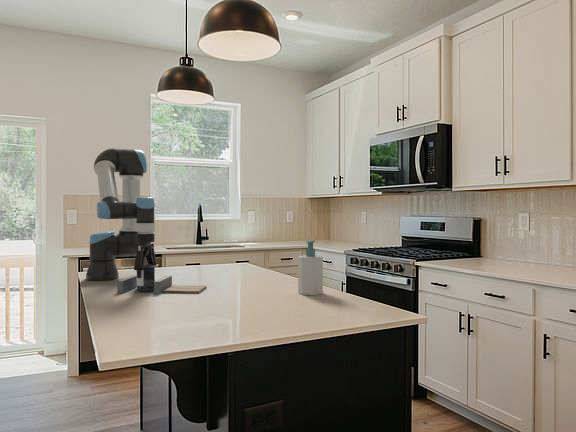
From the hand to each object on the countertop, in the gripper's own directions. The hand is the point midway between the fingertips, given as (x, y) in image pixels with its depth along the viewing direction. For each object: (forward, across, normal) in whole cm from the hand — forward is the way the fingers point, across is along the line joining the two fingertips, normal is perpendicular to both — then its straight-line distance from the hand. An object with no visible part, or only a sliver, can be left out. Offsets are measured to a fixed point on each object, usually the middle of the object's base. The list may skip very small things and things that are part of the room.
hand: (145, 283), depth 199 cm
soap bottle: (+3, +2, +71) cm, 71 cm away
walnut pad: (+3, 0, +17) cm, 18 cm away
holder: (+3, 0, 0) cm, 3 cm away
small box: (+3, 0, 0) cm, 3 cm away
